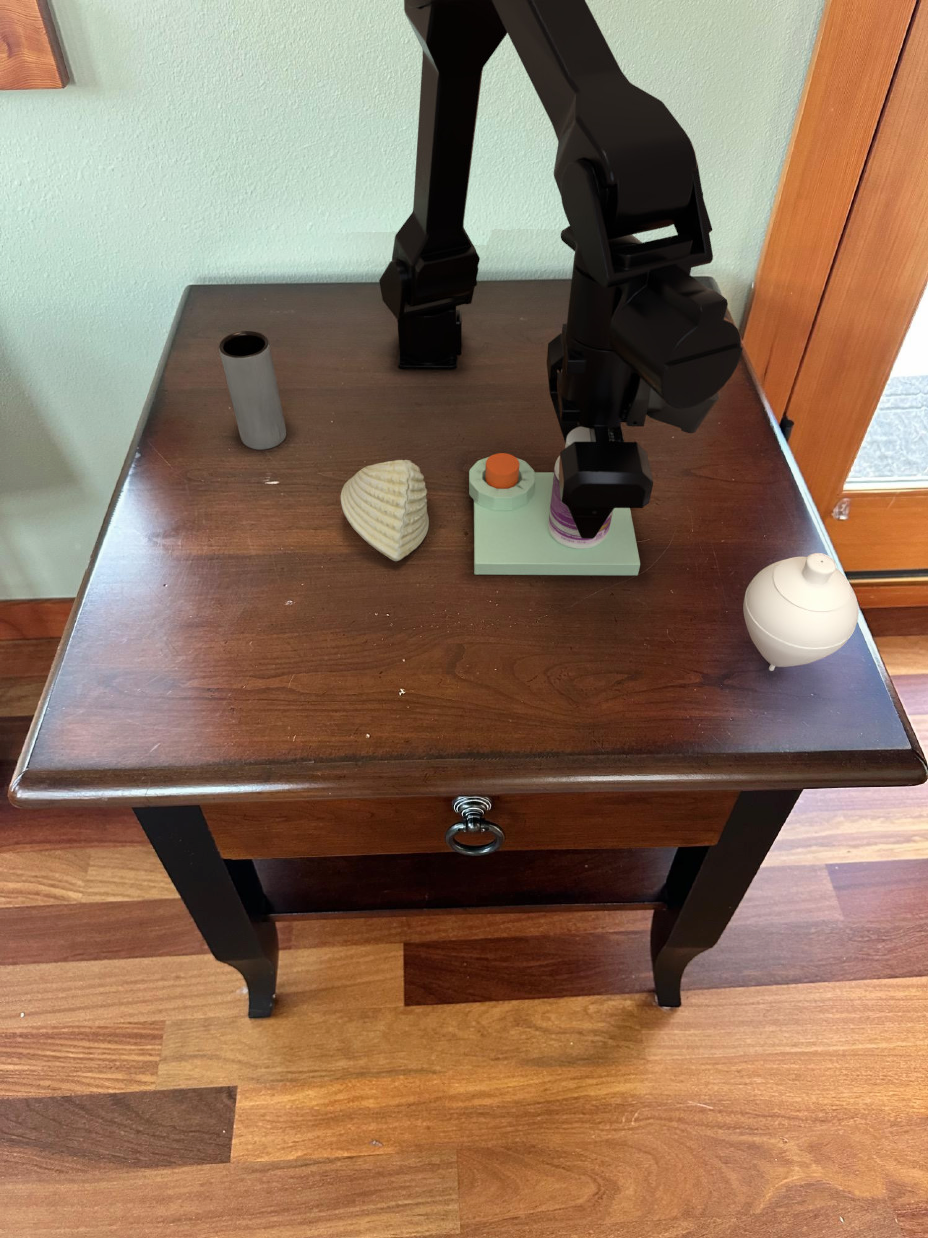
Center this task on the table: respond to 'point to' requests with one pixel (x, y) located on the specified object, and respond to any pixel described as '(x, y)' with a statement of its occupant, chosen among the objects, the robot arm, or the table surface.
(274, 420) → the grey cylindrical tube
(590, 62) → the robot arm
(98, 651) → the table surface
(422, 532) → the seashell
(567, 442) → the pill bottle
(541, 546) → the pale green base plate
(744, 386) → the table surface
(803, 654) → the spinning top
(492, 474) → the button
